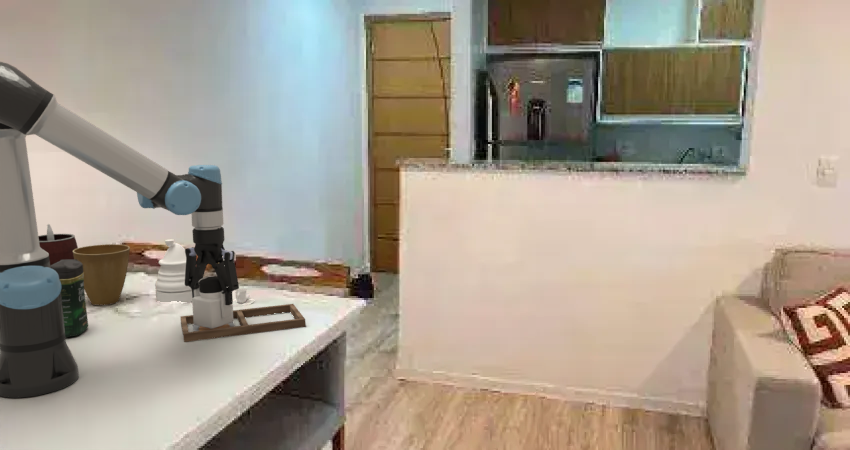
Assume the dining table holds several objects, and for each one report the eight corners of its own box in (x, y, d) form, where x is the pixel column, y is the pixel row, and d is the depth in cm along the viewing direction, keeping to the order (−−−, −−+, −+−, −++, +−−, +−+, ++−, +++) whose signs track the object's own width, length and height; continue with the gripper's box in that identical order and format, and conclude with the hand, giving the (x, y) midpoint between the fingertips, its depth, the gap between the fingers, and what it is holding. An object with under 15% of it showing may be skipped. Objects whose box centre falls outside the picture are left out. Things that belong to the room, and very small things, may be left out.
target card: (236, 332, 169) (236, 330, 169) (195, 337, 165) (195, 335, 165) (232, 320, 178) (232, 319, 178) (192, 325, 174) (192, 323, 174)
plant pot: (84, 312, 186) (79, 256, 183) (72, 301, 197) (67, 248, 194) (140, 302, 195) (136, 249, 192) (125, 292, 206) (121, 241, 204)
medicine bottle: (234, 321, 172) (231, 276, 170) (212, 329, 166) (209, 282, 164) (215, 317, 176) (212, 273, 174) (193, 324, 170) (190, 278, 168)
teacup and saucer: (240, 297, 201) (240, 284, 201) (262, 300, 198) (262, 287, 197) (221, 305, 193) (220, 292, 193) (243, 308, 190) (242, 294, 190)
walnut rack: (305, 326, 173) (305, 319, 172) (184, 342, 162) (183, 334, 161) (293, 310, 187) (293, 303, 186) (180, 323, 176) (180, 316, 175)
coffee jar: (80, 338, 165) (73, 264, 162) (45, 340, 163) (37, 266, 160) (93, 326, 174) (86, 256, 171) (60, 327, 173) (53, 257, 170)
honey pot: (174, 306, 191) (170, 245, 188) (147, 300, 198) (142, 240, 195) (211, 296, 202) (207, 237, 199) (183, 290, 209) (179, 233, 206)
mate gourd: (83, 293, 206) (77, 229, 202) (31, 300, 198) (24, 233, 195) (78, 282, 219) (73, 222, 215) (29, 288, 211) (23, 226, 208)
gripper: (251, 227, 167) (255, 315, 170) (186, 222, 174) (191, 306, 178) (232, 232, 160) (236, 324, 163) (164, 226, 167) (170, 314, 171)
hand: (213, 315), depth 171 cm, fingers closed on medicine bottle, 8 cm apart
